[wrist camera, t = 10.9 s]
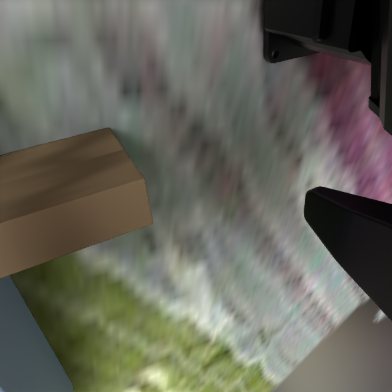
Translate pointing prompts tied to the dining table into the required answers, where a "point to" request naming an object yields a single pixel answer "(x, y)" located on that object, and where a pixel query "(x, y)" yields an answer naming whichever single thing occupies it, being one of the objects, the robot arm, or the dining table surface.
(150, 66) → the dining table surface
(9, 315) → the slate blue tapered plate
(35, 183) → the walnut slotted board
